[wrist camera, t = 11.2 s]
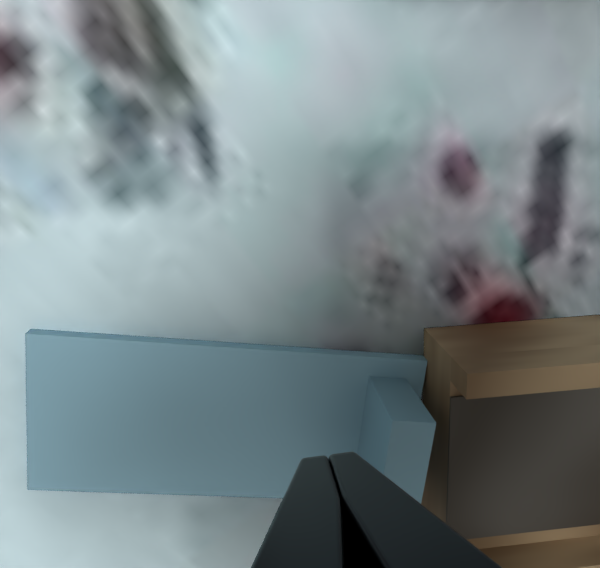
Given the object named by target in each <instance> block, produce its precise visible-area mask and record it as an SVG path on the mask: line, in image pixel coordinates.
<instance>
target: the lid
mask: <svg viewBox="0 0 600 568" xmlns="http://www.w3.org/2000/svg"><path fill="white" fill-rule="evenodd" d="M25 343H26V416H27V489H28V490H48V491H79V492H109V493H139V494H169V495H199V496H229V497H259V498H283V497H284V495H285V493H286V491H287V489H288V487H289V484H290V482H291V480H292V478H293V476H294V474H295V471H296V469H297V467H298V465H299V463H300V461H301V460H302V459H303V458H306V457H314V456H322V455H324V456H326V457H327V458H328V459H329V456H330V455H332V454H337V453H344V452H355V453H357V454H358V455H359V456H360V457H362V458H363V459H364V460H366V461H367V462H368V463H369V464H371V465H372V466H373V467H375V468H376V469H377V470H378V471H380V472H381V473H382V474H383V475H385V476H386V477H387V478H389V479H390V480H391V481H392V482H394V483H395V484H396V485H398V486H399V487H400V488H401V489H403V490H404V491H405V492H406V493H408V494H409V495H410V496H412V497H413V498H414V499H415V500H417V501H418V502H419V503H421V502H422V496H423V491H424V486H425V481H426V475H427V470H428V465H429V460H430V454H431V449H432V444H433V438H434V433H435V428H436V422H435V420H434V419H433V417H432V416H431V414H430V413H429V411H428V410H427V408H426V407H425V406H424V404H423V403H422V401H421V395H422V389H423V384H424V378H425V373H426V367H427V362H428V361H427V359H426V358H425V357H424V356H423V355H409V354H394V353H379V352H365V351H350V350H335V349H321V348H306V347H291V346H276V345H262V344H247V343H232V342H217V341H203V340H188V339H173V338H159V337H144V336H129V335H114V334H100V333H85V332H70V331H55V330H41V329H30V330H29V331H28V332H27V333H26V334H25Z"/></svg>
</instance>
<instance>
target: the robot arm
mask: <svg viewBox="0 0 600 568" xmlns="http://www.w3.org/2000/svg"><path fill="white" fill-rule="evenodd" d="M251 568H502V567H501V566H500V565H498V564H497V563H496V562H495V561H493V560H492V559H491V558H490V557H488V556H487V555H486V554H484V553H483V552H482V551H481V550H479V549H478V548H477V547H475V546H474V545H473V544H472V543H470V542H469V541H468V540H467V539H465V538H464V537H463V536H461V535H460V534H459V533H458V532H456V531H455V530H454V529H452V528H451V527H450V526H449V525H447V524H446V523H445V522H444V521H442V520H441V519H440V518H438V517H437V516H436V515H435V514H433V513H432V512H431V511H429V510H428V509H427V508H426V507H424V506H423V505H422V504H421V503H419V502H418V501H417V500H415V499H414V498H413V497H412V496H410V495H409V494H408V493H406V492H405V491H404V490H403V489H401V488H400V487H399V486H398V485H396V484H395V483H394V482H392V481H391V480H390V479H389V478H387V477H386V476H385V475H383V474H382V473H381V472H380V471H378V470H377V469H376V468H375V467H373V466H372V465H371V464H369V463H368V462H367V461H366V460H364V459H363V458H362V457H360V456H359V455H358V454H357V453H355V452H344V453H337V454H332V455H330V456H329V459H328V458H327V457H326V456H324V455H322V456H314V457H306V458H303V459H302V460H301V461H300V463H299V465H298V467H297V469H296V471H295V474H294V476H293V478H292V480H291V482H290V484H289V487H288V489H287V491H286V493H285V495H284V497H283V500H282V502H281V504H280V506H279V508H278V510H277V513H276V515H275V517H274V519H273V521H272V523H271V526H270V528H269V530H268V532H267V534H266V536H265V539H264V541H263V543H262V545H261V547H260V549H259V552H258V554H257V556H256V558H255V560H254V562H253V565H252V567H251Z"/></svg>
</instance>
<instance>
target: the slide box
mask: <svg viewBox="0 0 600 568" xmlns="http://www.w3.org/2000/svg"><path fill="white" fill-rule="evenodd" d="M424 357H425V358H426V359H427V361H428V362H427V367H426V373H425V378H424V384H423V404H424V406H425V407H426V408H427V410H428V411H429V413H430V414H431V416H432V417H433V419H434V420H435V422H436V428H435V433H434V438H433V444H432V449H431V454H430V460H429V465H428V470H427V475H426V481H425V486H424V491H423V496H422V502H421V504H422V505H423V506H424V507H426V508H427V509H428V510H429V511H431V512H432V513H433V514H435V515H436V516H437V517H438V518H440V519H441V520H442V521H444V522H445V523H446V524H447V525H449V526H450V527H451V528H452V529H454V530H455V531H456V532H458V533H459V534H460V535H461V536H463V537H464V538H465V539H467V540H468V541H469V542H470V543H472V544H473V545H474V546H475V547H477V548H478V549H479V550H481V551H482V552H483V553H484V554H486V555H487V556H488V557H490V558H491V559H492V560H493V561H495V562H496V563H497V564H498V565H500V566H501V567H502V568H600V315H589V316H577V317H564V318H551V319H538V320H525V321H512V322H500V323H487V324H474V325H461V326H448V327H435V328H424Z"/></svg>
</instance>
